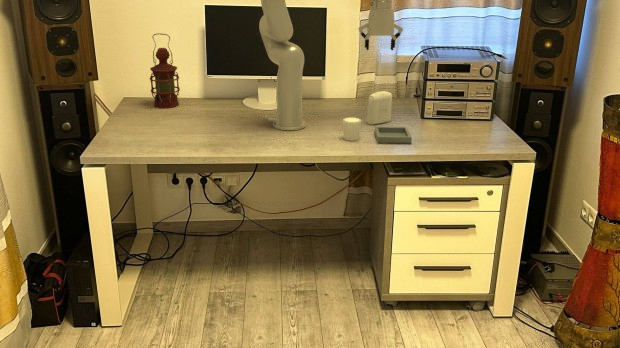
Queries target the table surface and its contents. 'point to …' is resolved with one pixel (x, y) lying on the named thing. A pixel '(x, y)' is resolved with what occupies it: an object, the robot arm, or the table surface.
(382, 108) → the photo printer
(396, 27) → the robot arm
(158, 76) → the lantern
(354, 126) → the white cylinder
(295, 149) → the table surface
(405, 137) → the parts tray
